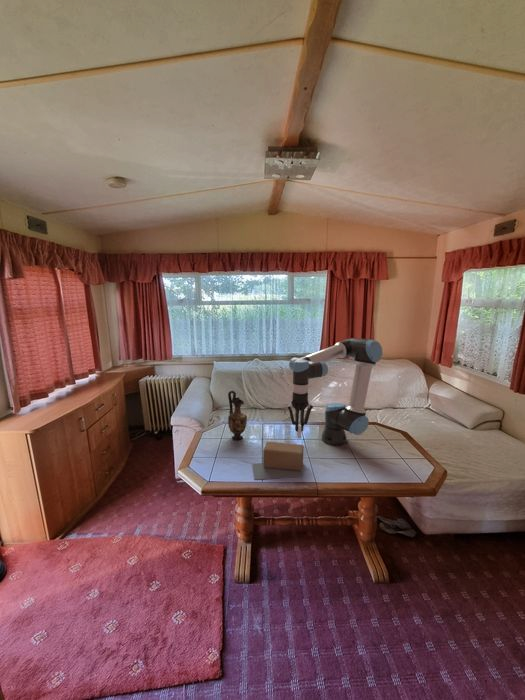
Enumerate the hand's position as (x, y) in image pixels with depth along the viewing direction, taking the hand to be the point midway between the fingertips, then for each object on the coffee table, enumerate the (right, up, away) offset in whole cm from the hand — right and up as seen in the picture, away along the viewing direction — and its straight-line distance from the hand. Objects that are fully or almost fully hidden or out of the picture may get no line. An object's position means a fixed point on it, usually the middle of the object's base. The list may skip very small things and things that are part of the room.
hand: (298, 437), depth 145 cm
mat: (-11, -17, +2) cm, 21 cm away
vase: (-34, -12, +37) cm, 52 cm away
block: (+3, -12, +4) cm, 13 cm away
